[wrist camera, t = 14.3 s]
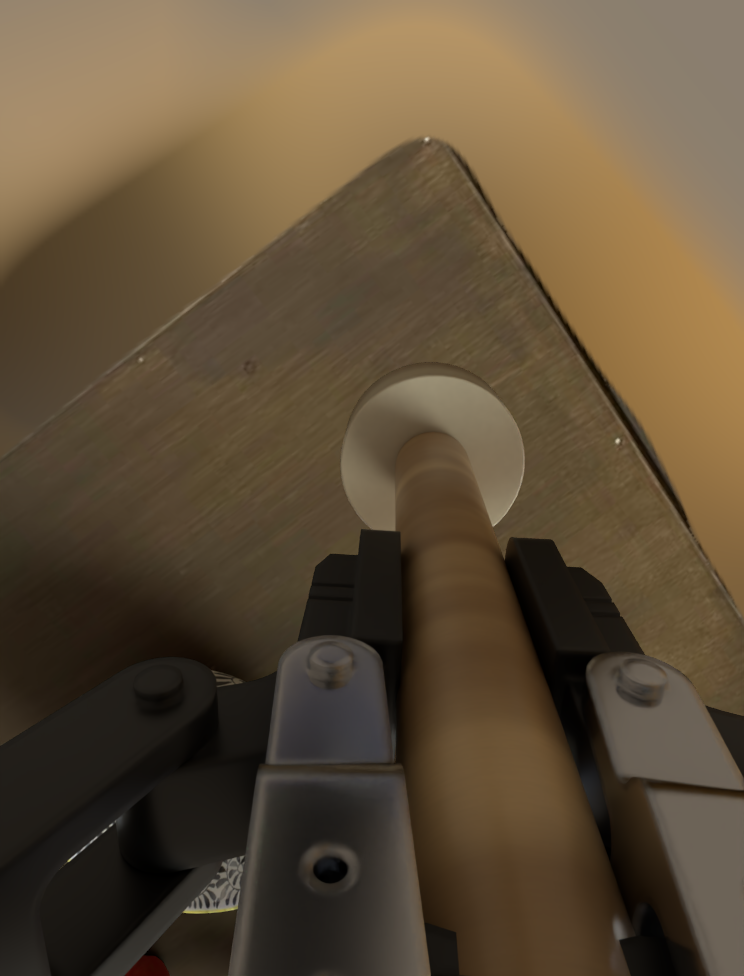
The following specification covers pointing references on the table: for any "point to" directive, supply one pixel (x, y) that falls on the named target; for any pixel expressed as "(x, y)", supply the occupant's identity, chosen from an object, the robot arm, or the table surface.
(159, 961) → the apple
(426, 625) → the wooden peg stand
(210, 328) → the table surface
